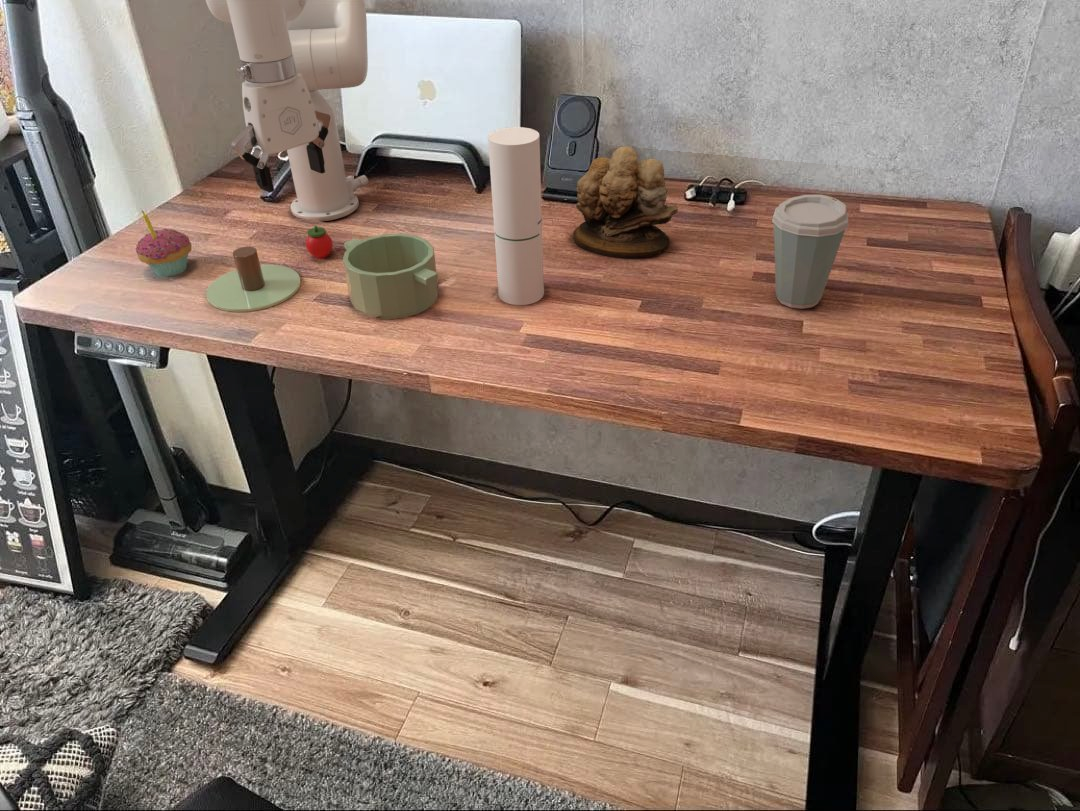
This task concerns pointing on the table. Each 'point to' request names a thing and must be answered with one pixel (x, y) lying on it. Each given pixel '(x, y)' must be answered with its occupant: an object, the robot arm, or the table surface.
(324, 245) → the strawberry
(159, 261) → the sprinkled cake with candle
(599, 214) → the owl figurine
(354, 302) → the pot
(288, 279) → the lid
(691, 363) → the table surface
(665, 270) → the table surface
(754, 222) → the table surface
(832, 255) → the disposable coffee cup
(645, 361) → the table surface
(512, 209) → the cylindrical container
